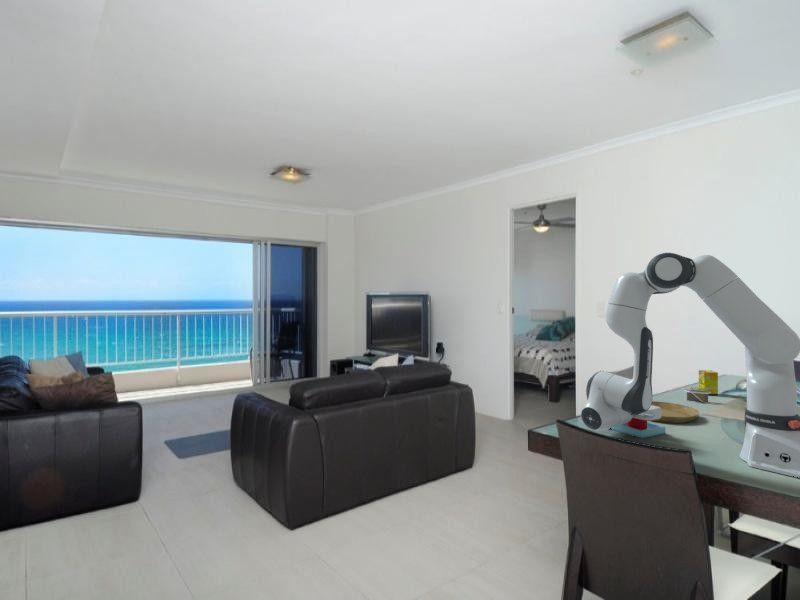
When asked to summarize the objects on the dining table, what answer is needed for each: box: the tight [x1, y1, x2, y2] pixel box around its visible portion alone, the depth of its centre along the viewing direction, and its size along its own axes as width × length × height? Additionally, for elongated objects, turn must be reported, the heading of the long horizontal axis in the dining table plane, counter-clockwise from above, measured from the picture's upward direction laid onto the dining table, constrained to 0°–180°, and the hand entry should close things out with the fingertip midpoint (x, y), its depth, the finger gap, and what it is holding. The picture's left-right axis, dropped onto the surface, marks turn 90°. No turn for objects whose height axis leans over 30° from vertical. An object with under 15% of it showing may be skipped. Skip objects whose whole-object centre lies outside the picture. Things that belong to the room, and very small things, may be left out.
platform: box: [683, 386, 711, 403], centre depth 206 cm, size 12×18×7 cm, turn 60°
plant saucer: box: [651, 400, 700, 424], centre depth 183 cm, size 24×24×3 cm
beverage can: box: [627, 418, 648, 430], centre depth 161 cm, size 6×6×12 cm
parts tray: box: [610, 421, 666, 439], centre depth 161 cm, size 12×12×2 cm
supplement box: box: [698, 369, 719, 397], centre depth 222 cm, size 6×6×11 cm
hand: (638, 404), depth 162 cm, fingers open, 8 cm apart
